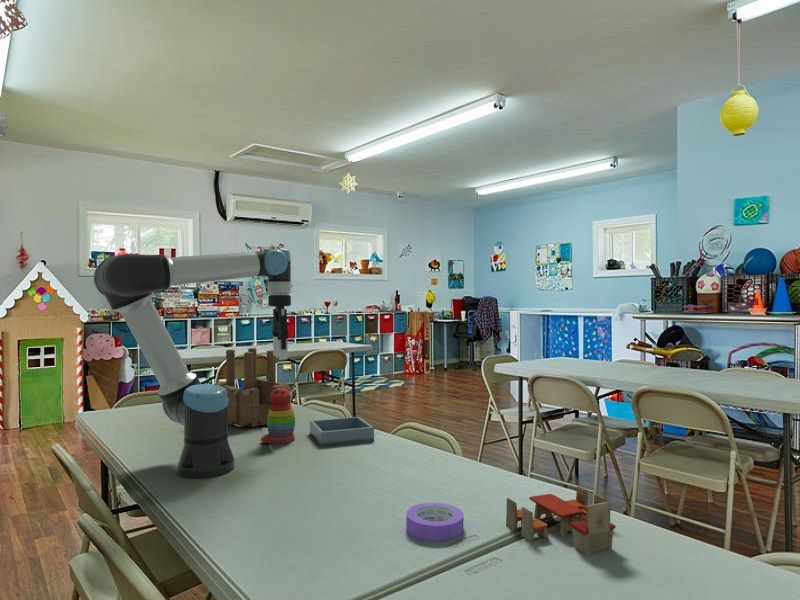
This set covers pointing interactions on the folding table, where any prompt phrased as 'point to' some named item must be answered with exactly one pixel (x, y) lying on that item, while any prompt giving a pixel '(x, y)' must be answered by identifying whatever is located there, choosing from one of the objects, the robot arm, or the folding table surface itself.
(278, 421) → the stacking bear
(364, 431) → the tray
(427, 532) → the masking tape
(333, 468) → the folding table surface
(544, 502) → the dollhouse furniture set
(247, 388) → the wooden toy structure
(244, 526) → the folding table surface
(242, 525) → the folding table surface
